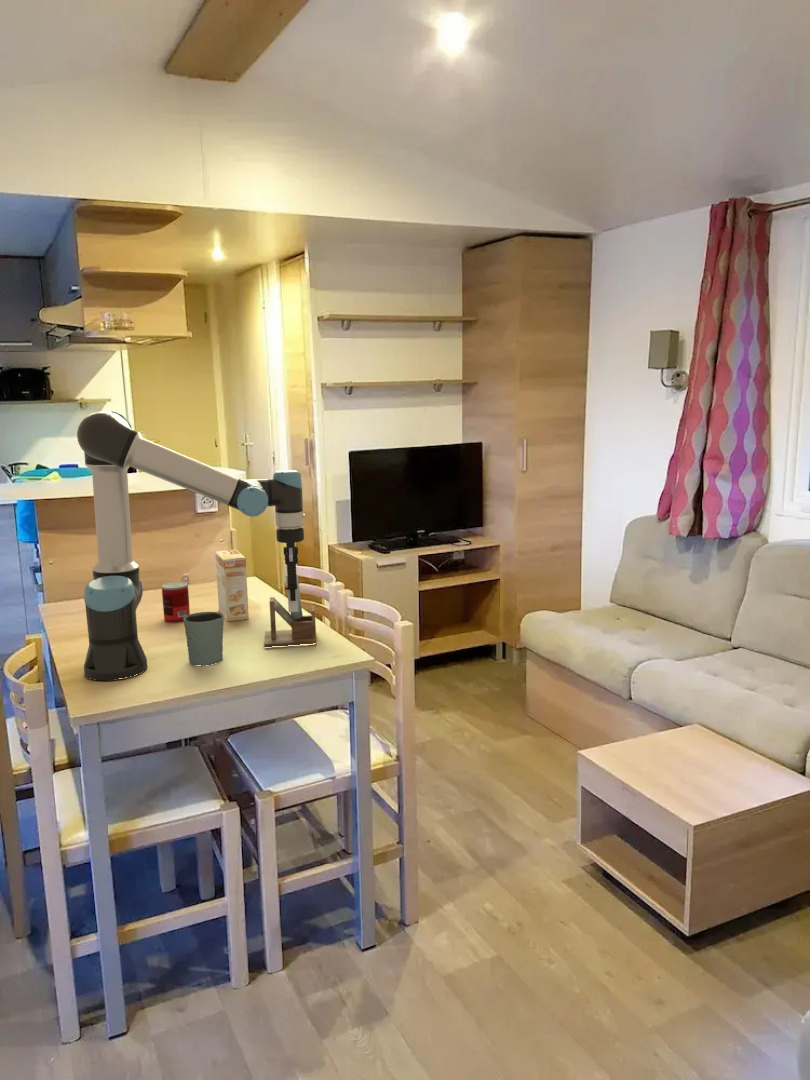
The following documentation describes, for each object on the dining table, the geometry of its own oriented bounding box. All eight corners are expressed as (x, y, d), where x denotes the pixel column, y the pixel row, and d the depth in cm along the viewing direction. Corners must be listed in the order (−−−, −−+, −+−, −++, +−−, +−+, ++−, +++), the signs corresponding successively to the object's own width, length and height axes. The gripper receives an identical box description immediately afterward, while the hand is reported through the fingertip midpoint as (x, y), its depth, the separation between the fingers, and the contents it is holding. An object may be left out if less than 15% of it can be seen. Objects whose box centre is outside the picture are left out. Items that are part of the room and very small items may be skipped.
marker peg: (303, 617, 226) (297, 576, 223) (291, 619, 225) (286, 578, 223) (302, 614, 229) (296, 573, 226) (290, 616, 228) (285, 575, 226)
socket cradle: (316, 645, 223) (314, 602, 221) (264, 648, 221) (262, 605, 219) (315, 632, 235) (313, 591, 232) (265, 635, 233) (263, 594, 231)
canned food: (193, 615, 254) (191, 581, 252) (184, 623, 246) (182, 588, 244) (170, 615, 255) (167, 581, 253) (160, 622, 247) (157, 587, 245)
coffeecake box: (249, 619, 249) (246, 557, 246) (226, 622, 247) (222, 559, 243) (240, 607, 263) (236, 548, 259) (218, 610, 260) (214, 550, 257)
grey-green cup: (180, 666, 208) (177, 621, 206) (195, 653, 218) (192, 610, 216) (218, 667, 207) (215, 622, 205) (231, 654, 217) (229, 611, 214)
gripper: (304, 531, 214) (307, 616, 219) (303, 521, 231) (306, 600, 235) (275, 532, 213) (279, 618, 218) (276, 522, 230) (280, 602, 234)
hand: (293, 609), depth 226 cm, fingers open, 4 cm apart
